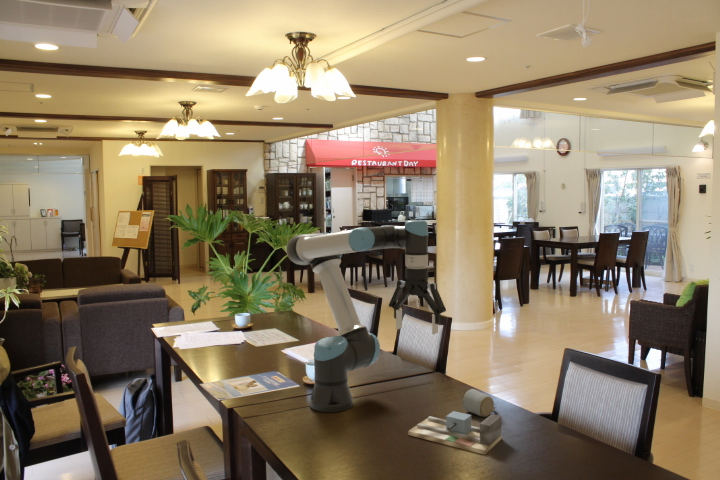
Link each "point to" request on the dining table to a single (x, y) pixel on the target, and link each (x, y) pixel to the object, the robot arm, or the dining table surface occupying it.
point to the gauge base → (473, 441)
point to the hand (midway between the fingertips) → (416, 331)
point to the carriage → (458, 422)
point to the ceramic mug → (478, 403)
